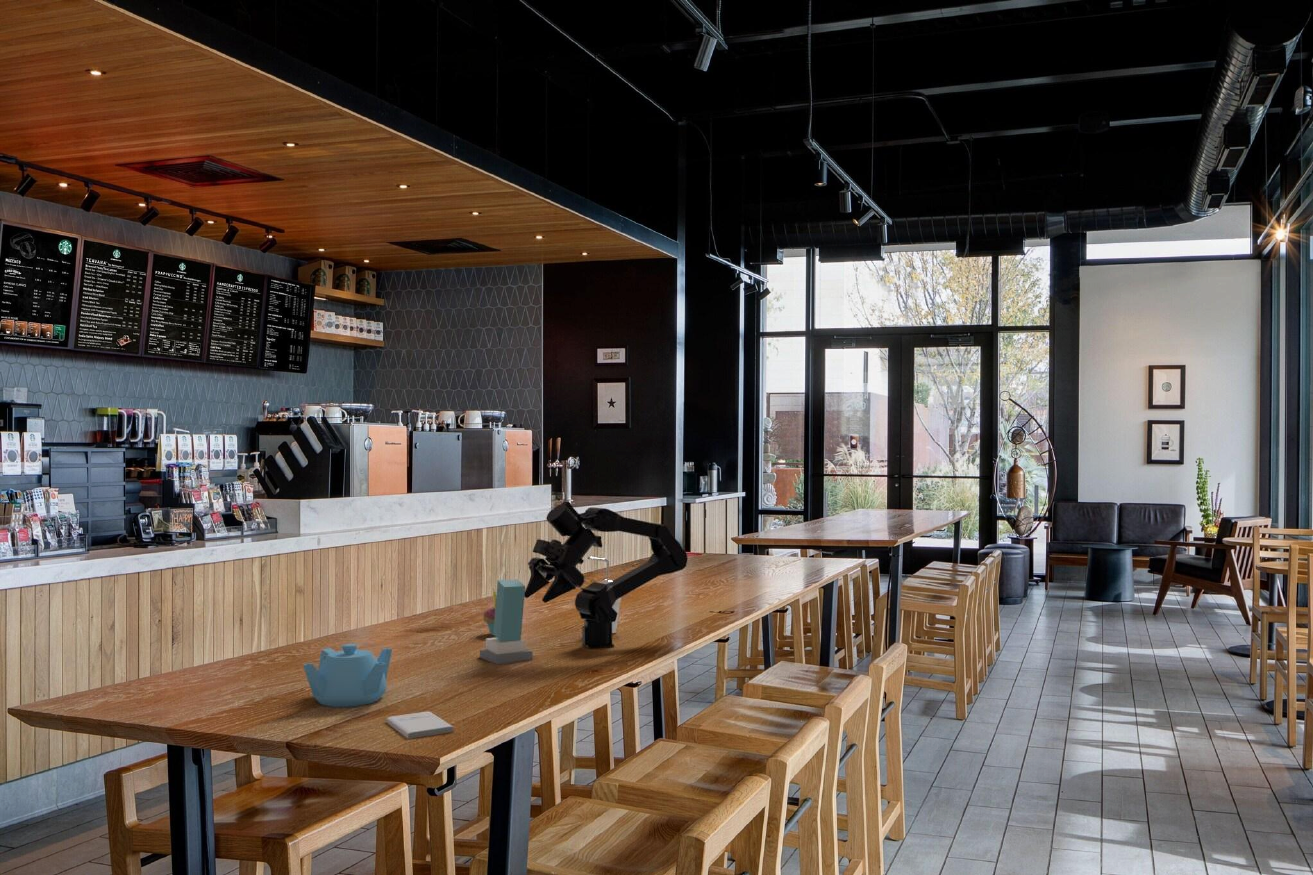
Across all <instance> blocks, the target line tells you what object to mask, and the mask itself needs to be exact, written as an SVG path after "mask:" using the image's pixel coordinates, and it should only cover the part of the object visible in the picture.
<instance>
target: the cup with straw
mask: <svg viewBox="0 0 1313 875" xmlns="http://www.w3.org/2000/svg"><path fill="white" fill-rule="evenodd" d="M587 559H588V560H593V561H600V562H605V563H606V564H605V565H606V568H605V569H606V570H605V572H606V575H605V576H606V579H603V580H602V579H601V580H600V581H599V582H598V583H603V584H608V583H610V582H612V581H613V579H610V561H609V560H608V559H607V558H601V557H594V556H588V557H587ZM621 602H622V597H621V598H619V599H617V600H616V602H615V603H614V605H613V607H612V608H613V609H614V610H615V611H616V612H617V617H616V621H615V622H612V634H617V628H618V622H619V611H620V605H621Z"/></svg>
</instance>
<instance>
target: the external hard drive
mask: <svg viewBox="0 0 1313 875" xmlns="http://www.w3.org/2000/svg"><path fill="white" fill-rule="evenodd" d="M385 721H386V723H387V724H388V725H389V726H391V728H393V729H394V730H396V731H397V732H398V733H400V734H401V735H402V736H403V737H404V738H407V740H408V739H415V738H422V737H429V736H435V735H442V734H449V733H455V728H454V727H455V726H453V725H451V724H449V723H448V722H446V721H445V720H443V718H440V717H439V716H438V715H435V714H434V713H432V711H422V712H413V713H408V714H399V715H392V716H388V717H386V720H385Z"/></svg>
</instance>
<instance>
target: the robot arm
mask: <svg viewBox="0 0 1313 875" xmlns="http://www.w3.org/2000/svg"><path fill="white" fill-rule="evenodd" d="M545 520H546V521H547V523H549V525H551V527H552V528H553V529H555V531H556V532H557V533H558V535H560V536H561V537H568V538H567V539H566V540H565V541H564V542H563V543H562V541H560V540H558V539H551V541H548V540H544V539H539V538H537V539H536V542H535V543H534V547H533V549H532V552H533V553H535V554H539V555H541V556H544V557H545V558H542V557H532V558H531V559H530V560H529V561H528V563H527V565H528V569H529V571H530V578H529V581H528V583H527V586H526V587H525V596H524V599H525V598H526V599H528V598H530V597H531V596H533V595H534V594H536V593H537V592H538V591H540V590H541V589H543V588H544V587H546V586H547V585H548V584H550V581H551V580H553V582H551V584H550V586H549V588H548V589H547V591H546V592H545V593H544V595H543V597H542V599H541V601H542V602H543V603H544V604H546V603H548V602H550V601H552V600H554V599H556V598H558V597H560V596H562V595H564V594H566V593H568V592H571V591H573V590H576V589H577V588H579V589H580V590H581V591H579V592H577V594H576V596H575V600H574V605H575V609H576V610H577V611H578V614H579V617H580V619H581V620H583V621H584V624H583V626H582V627H581V630H582V631H581V633H582V636H581V637H582V638H581V641H582V645H584V646H585V647H587V648H588V649H595V648H608V647H609V648H610V647H615V643H613V633H612V622H615V621H616V617H617V612H616V611H615V610H614V609H613V608H612V607H613V605H614V603H615V602H616V600H617V599H619V598H621V599H622V598H623V597H624V596H626V595H628V594H629V593H631V592H633V591H635V590H636V589H638V588H640V587H642V586H643V585H645V584H647V583H649V582H651V581H652V580H654V579H656V578H658V577H661V576H664V575H669V574H673V573H674V574H675V573H677V572H680V571H682V570H684V569H685V568H686V567H687V564H688V558H689V557H688V554H687V552H686V550H685V549H684V548H683V547H682V545H681V543H680V542H679V541H678V539H676V538H675V537H674V535H672V533H671V532H670V530H669V528H668V526H667V525H666V524H662V523H655V522H654V523H653V522H649V521H643V520H639V519H635V518H631V517H630V518H629V517H625V516H623V515H620V514H619V513H618V512H615V511H613V510H611V509H609V508H604V507H588V508H587V509H586V510H585V511H584V512H581V513H579V512H578V511H577V510H576V509H575V507H573V505H572V503H571V502H570V501H567V500H564V501H562V503H560V504H558V505H557V506H555V507H554V508H553V509H551V510H549V512H548V513H547V515H546V519H545ZM594 532H601V533H615V532H621V533H626V534H630V535H637V536H642V537H647V538H648V539H649V542H650V543H649V544H650V548H651V551H652V554H651V556H650V557H649V559H648V560H647V561H646V562H644V563H642V564H640V565H639V566H637V567H635V568H634V569H631V570H630V571H629V572H627V573H624V574H623V575H620V576H619V577H617V578H615V579H614V580H613V579H612V580H613V581H612V582H610V583H608V584H603V583H599V582H597V581H593V582H591V583H590V584H588V586H585V587H583V585H584V584H585V580H586V577H585V575H584V574H583V573H582V572H581V571H580V570H579V569H578V568H577V565H578V564H579V565H583V563H584V562H585V560H584V559H583V558H584V557H585V555H586V554H587V553H588V552H589V550H590V549H591V548H592V547H595V548H602V547H603V542H602V535H601V536H600V535H596V533H594Z"/></svg>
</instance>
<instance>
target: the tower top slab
mask: <svg viewBox="0 0 1313 875" xmlns="http://www.w3.org/2000/svg"><path fill="white" fill-rule="evenodd" d="M485 649H486V650H488V651H491V652H493V653H495V654H505V653H514V652H523V651H526V649H527V647H526V640H525V639H523V638H521V640H516V641H502V642H500V641H499V640H498V639H497V638H496V637H488V638H485Z"/></svg>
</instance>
